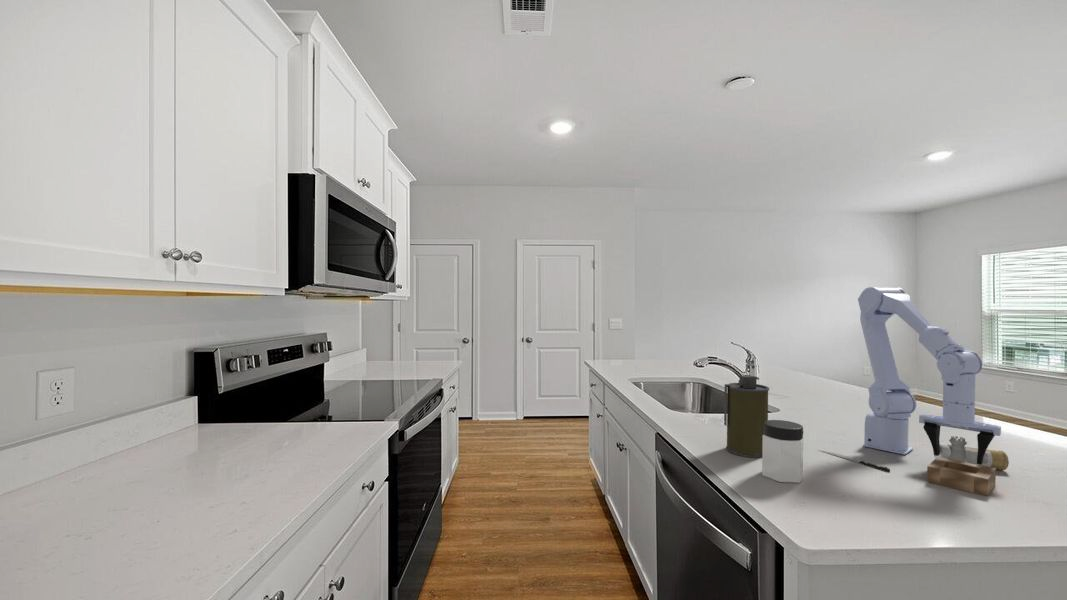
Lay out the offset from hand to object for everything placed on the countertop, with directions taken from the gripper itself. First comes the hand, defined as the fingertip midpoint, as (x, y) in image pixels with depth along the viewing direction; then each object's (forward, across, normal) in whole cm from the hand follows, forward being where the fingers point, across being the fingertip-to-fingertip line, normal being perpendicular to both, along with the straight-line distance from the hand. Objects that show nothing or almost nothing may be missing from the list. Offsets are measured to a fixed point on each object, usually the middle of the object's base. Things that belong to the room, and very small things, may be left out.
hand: (957, 459), depth 115 cm
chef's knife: (+3, -19, -10) cm, 22 cm away
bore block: (+3, +2, -9) cm, 10 cm away
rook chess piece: (+3, 0, 0) cm, 3 cm away
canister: (+3, -39, -25) cm, 46 cm away
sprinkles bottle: (+1, +7, +10) cm, 12 cm away
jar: (+3, -25, -36) cm, 44 cm away
